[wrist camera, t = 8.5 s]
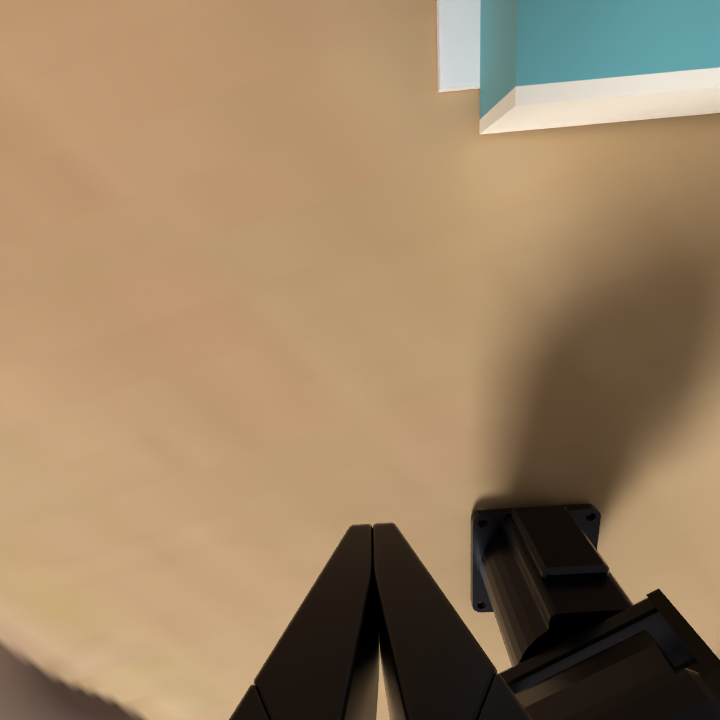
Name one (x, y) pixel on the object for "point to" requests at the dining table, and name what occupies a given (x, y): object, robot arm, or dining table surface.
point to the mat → (458, 44)
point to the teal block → (596, 61)
